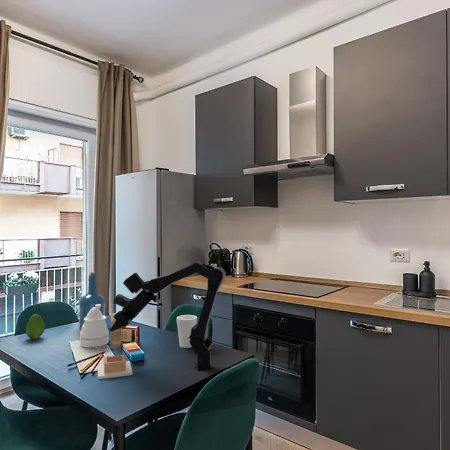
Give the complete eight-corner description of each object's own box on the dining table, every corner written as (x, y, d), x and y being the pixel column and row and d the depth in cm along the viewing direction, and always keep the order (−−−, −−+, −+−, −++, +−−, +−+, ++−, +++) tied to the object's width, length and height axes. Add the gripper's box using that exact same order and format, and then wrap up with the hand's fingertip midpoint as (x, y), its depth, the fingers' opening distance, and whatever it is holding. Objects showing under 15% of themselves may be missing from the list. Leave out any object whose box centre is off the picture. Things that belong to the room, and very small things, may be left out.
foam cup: (198, 342, 171) (198, 315, 171) (195, 349, 162) (195, 320, 162) (178, 342, 172) (179, 314, 172) (174, 348, 163) (174, 319, 163)
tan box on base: (132, 374, 133) (132, 362, 134) (97, 379, 129) (98, 366, 129) (129, 363, 145) (129, 352, 145) (97, 367, 141) (97, 355, 141)
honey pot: (114, 340, 174) (114, 303, 174) (96, 348, 162) (96, 308, 162) (92, 337, 179) (92, 301, 179) (73, 345, 166) (73, 306, 167)
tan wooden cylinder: (121, 347, 145) (121, 314, 145) (110, 348, 143) (111, 315, 143) (120, 344, 148) (120, 312, 149) (110, 345, 147) (110, 313, 147)
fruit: (35, 341, 171) (35, 316, 171) (22, 340, 174) (22, 315, 174) (48, 337, 179) (48, 312, 179) (35, 335, 181) (35, 311, 181)
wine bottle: (102, 330, 191) (102, 273, 192) (76, 331, 190) (76, 273, 190) (107, 323, 205) (107, 270, 205) (82, 324, 203) (83, 270, 203)
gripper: (131, 284, 155) (106, 309, 155) (119, 291, 137) (89, 321, 137) (150, 302, 155) (124, 328, 155) (140, 312, 137) (110, 342, 137)
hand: (112, 329), depth 146 cm, fingers closed on tan wooden cylinder, 4 cm apart
